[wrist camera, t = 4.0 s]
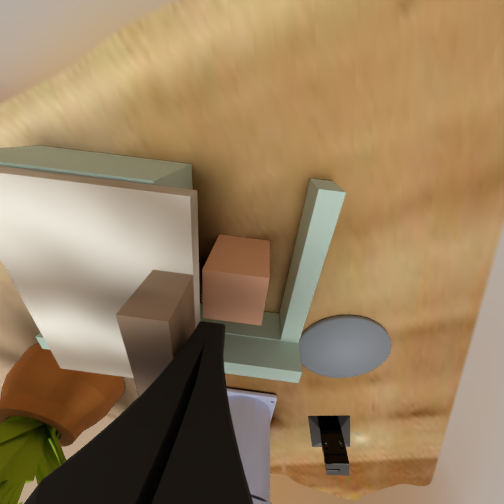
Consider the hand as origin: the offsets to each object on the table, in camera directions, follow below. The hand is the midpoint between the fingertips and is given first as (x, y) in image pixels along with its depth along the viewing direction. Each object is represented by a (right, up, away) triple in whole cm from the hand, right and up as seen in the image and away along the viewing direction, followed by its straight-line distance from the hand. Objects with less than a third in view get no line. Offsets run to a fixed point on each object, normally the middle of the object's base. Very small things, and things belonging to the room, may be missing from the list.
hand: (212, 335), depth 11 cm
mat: (+11, -5, +11) cm, 17 cm away
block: (+1, +4, +7) cm, 8 cm away
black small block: (+13, -21, +21) cm, 33 cm away
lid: (-6, +2, +2) cm, 7 cm away
